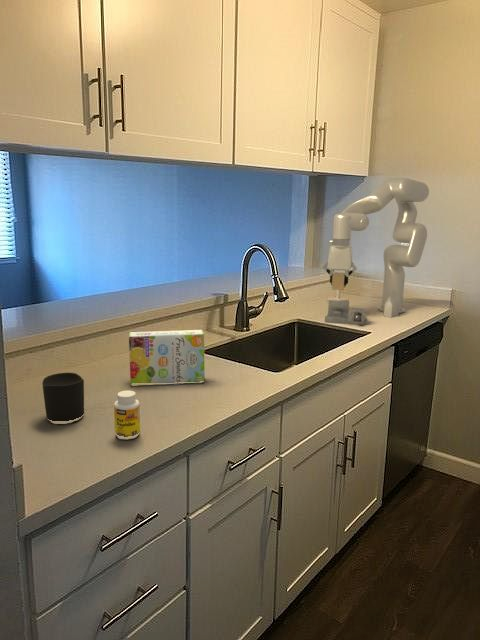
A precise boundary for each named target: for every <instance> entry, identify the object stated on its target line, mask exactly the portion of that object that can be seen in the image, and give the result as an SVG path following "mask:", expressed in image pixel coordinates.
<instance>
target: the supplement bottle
mask: <svg viewBox="0 0 480 640" xmlns="http://www.w3.org/2000/svg"><path fill="white" fill-rule="evenodd" d="M116 397H117V400H116V401H115V402H114V404H113V409H114V434H115V433H116V434H117V435H119V436H124V437H128V436H134V435H136V434H138V433H139V432H140V433H141V419H140V418H141V417H140V416H141V415H140V413H141V412H140V409H141V408H140V402H139V401H140V400H138V399H136V398H137V396H136V392H135V391H133V390H122V391H119V392H117V396H116Z"/></svg>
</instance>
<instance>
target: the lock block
mask: <svg viewBox="0 0 480 640" xmlns="http://www.w3.org/2000/svg"><path fill="white" fill-rule="evenodd" d="M345 275H346V274H345V272H335V271H334V272H333V277H332V285H331V291H334V290H335V291H337V290H341V291H345V288H346V286H344V281H345Z"/></svg>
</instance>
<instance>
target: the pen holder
mask: <svg viewBox="0 0 480 640" xmlns="http://www.w3.org/2000/svg"><path fill="white" fill-rule="evenodd" d="M42 392H43V400H44V408H45V414H46V419H47V418H48V419H49V420H52V421H69V420H74V419H76V418H79V417H81V416H82V415H83V414H84V415H85V380H84V379H83V377H82V376H80V374H78V373H75V372H59V373H53V374H50V375H48V376H45V378H43V380H42Z"/></svg>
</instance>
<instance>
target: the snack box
mask: <svg viewBox="0 0 480 640" xmlns="http://www.w3.org/2000/svg"><path fill="white" fill-rule="evenodd" d="M128 353H129V354H128V356H129V378H130V385H131V384H132V383H175V382H177V383H178V382H200V381H204V382H205V333H204V331H203V330H202V329H190V330H189V329H187V330H160V331H159V330H158V331H154V330H153V331H134V332H133V331H132V332H131V331H130V332H128Z"/></svg>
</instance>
